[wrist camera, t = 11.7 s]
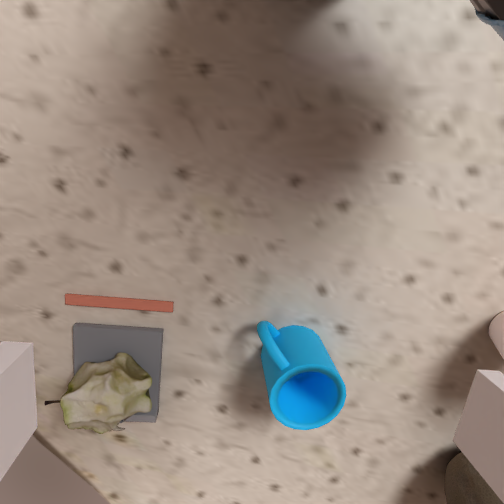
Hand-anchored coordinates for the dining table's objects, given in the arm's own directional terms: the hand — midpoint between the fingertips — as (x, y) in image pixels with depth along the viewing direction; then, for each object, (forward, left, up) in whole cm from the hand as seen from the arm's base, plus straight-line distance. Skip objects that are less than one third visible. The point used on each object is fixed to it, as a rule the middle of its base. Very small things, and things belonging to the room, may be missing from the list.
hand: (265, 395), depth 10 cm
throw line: (+11, -12, -29) cm, 33 cm away
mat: (+20, -12, -29) cm, 37 cm away
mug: (+15, +8, -29) cm, 34 cm away
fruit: (+21, -12, -28) cm, 36 cm away
